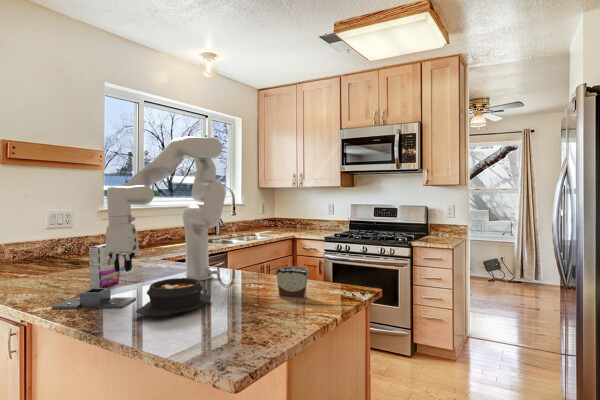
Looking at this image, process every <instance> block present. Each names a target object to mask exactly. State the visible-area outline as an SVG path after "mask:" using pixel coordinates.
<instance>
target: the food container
mask: <svg viewBox="0 0 600 400" xmlns="http://www.w3.org/2000/svg"><path fill="white" fill-rule="evenodd" d="M274 274H275V275H276V279H277V289H278V297H279V298H283V299H284V298H286V299H296V300H297V299H298V300H306V293H307V284H308V283H307V282H308V277H309V276H310V271H309V269H308V268H307V267H304V266H298V265H297V266H295V265H293V266H292V265H290V266H279V267H276V269H275V273H274Z"/></svg>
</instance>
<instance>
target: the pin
mask: <svg viewBox="0 0 600 400" xmlns="http://www.w3.org/2000/svg"><path fill="white" fill-rule="evenodd" d="M125 261H126V255H125V253H119V254H118V264H119V278H126V277H128V276H129V271H128V272H126V271H125Z"/></svg>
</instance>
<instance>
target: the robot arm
mask: <svg viewBox="0 0 600 400" xmlns="http://www.w3.org/2000/svg"><path fill="white" fill-rule="evenodd" d="M222 153H223V145H222V143H221V142H220V140H219V139H217V138H215V137H206V136H204V137H202V136H183V137H176V138H173V139H172V140H171V141H170V142H169V143H168V144H167V145H166V146H165V147H164V148H163V149H162V151H160V153H159V154H158V155H157V156H156V157H155V158H154V159H153V160H152V161H151V162H150V163H149V164H147V165H146V166H144V167H143V168H141V170H139V171H137V172H136V173H135V174H134V175H133V176H132V177H131V178H130V179H129V180H128V181H127V182H126V184H124V185H123V186H121V185H120V186H110V187H107V188H106V202H107V203H106V204H107V218H108V224H107V226H106V230H105V231H106V232H105V244H106V248H105V250H104V254H106V255H108V256H109V257H110V258H112V260H113V261H114V268H115V271H116V272H118V271H119V264H118V254H120V253H124V254H125V255H126V261H125V271H126V272H128V273H129V272H130V271H131V270H132V268H133V262H132V260H133V259H134V258H135V256H136V255H137V254H140V253H141V251H142V250H141V249H140V246H139V239H138V232H137V229H136V226H135V223H134V222H133V221H136V217H135V216H132V209H131V208H132V205H133V206H145V205H148V204H150V203H152V201H153V199H154V198H155V193H154V191H153V189H152V188H151V186H153V185H154V184H156V183H158V182H161V181H163V180H165V179H167V178H168V177H171V175H172V174H173V173H174V172H175V171H176V169H177V168H178V167H179V166H180V165H181V163H182V162H184V160H186V159H192V160H193V162H194V163H195V167H196V171H195V176H194V180H193V184H192V189H191V197H192V200H193V201H195V202H197V203H198V202H199V203H203V204H191V205H189V206H187V207H186V208H185V209H184V210H183V212H182V222H183V226H184V234H185V274H183V275H182V278H190V279H196V280H199V281H200V282H201V281H206V280H209V279H212V278H213V275H219V273H220V272H219V269H217V268H211V266H210V265H209V262H210V261H209V260H210V259H209V234H208V231H207V230H208V229H209V228H214V227H216V226H218V224H219V223H220V220H221V218H222V213H223V208H224V205H225V198H226V189H225V188H226V187H225V186H224V184H223V183H222V182H221V181H219V180H216V175H217V167H216V164H215V162H214V161H213V159H215V158H218V157H220V155H221V154H222ZM132 222H133V223H132ZM207 228H208V229H207Z"/></svg>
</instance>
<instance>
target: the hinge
mask: <svg viewBox="0 0 600 400" xmlns="http://www.w3.org/2000/svg"><path fill="white" fill-rule="evenodd" d="M134 300H135V301H136V300H137V297H135V296H134V297H129V296H128V297H123V296H122V297H121V296H120V297H116V296H115V297H112V298H111V288H110V287H104V288H89V289H86V290H84V291H82V292H79V297H70V298H67V299H65V300H62V301H61V302H58V303H56V304H54V305H52V306H51V309H52V310H58V309H59V310H66V309H67V310H76V309H79V308H96V309H104V310H105V309H106V310H107V309H112V308H122V309H123V307H124V308H125V307H127V306H128V305H130V304H131V302H132V301H133V302H134ZM133 302H132V303H133ZM129 303H130V304H129ZM126 305H127V306H126Z"/></svg>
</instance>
